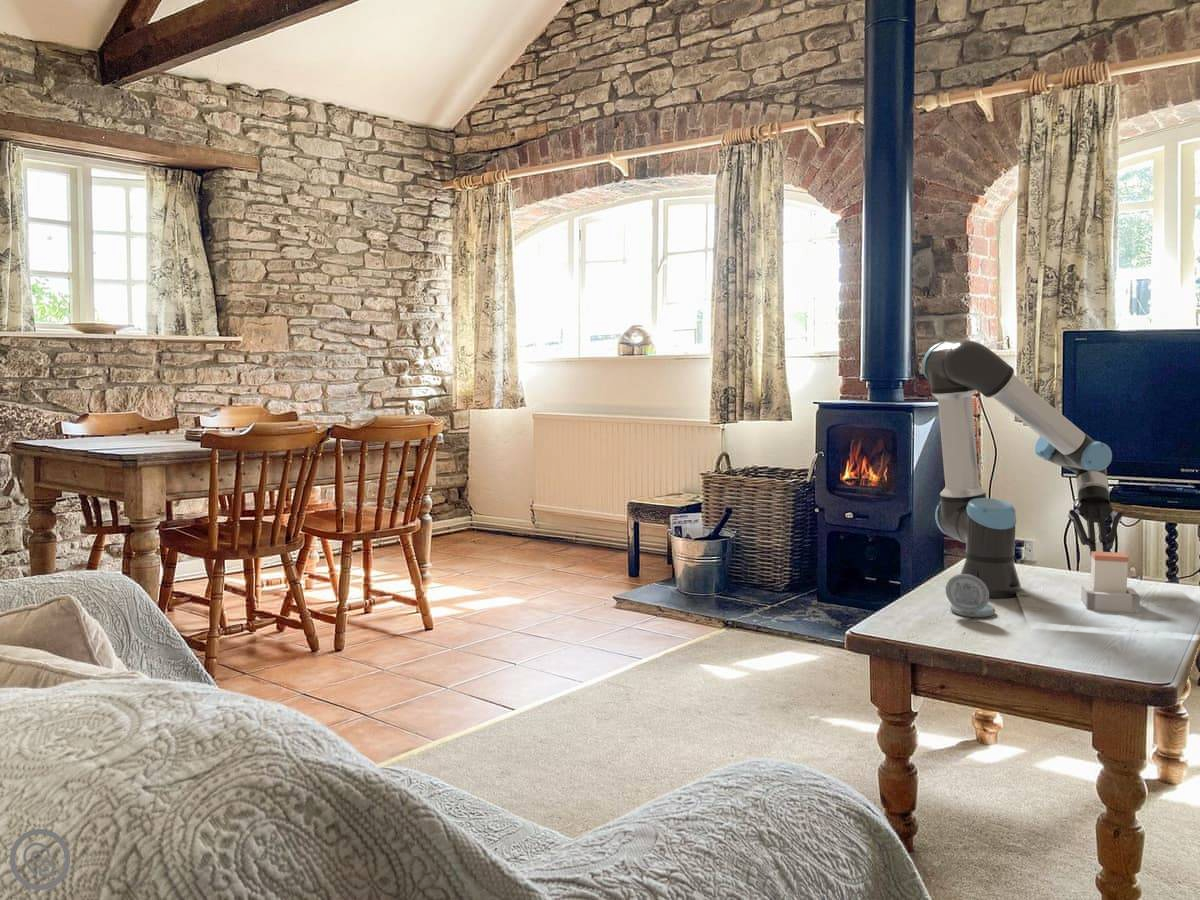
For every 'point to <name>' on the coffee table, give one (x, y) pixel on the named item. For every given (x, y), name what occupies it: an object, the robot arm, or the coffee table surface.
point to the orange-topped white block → (1109, 572)
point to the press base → (1110, 600)
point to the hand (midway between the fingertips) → (1100, 566)
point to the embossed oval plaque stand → (969, 596)
